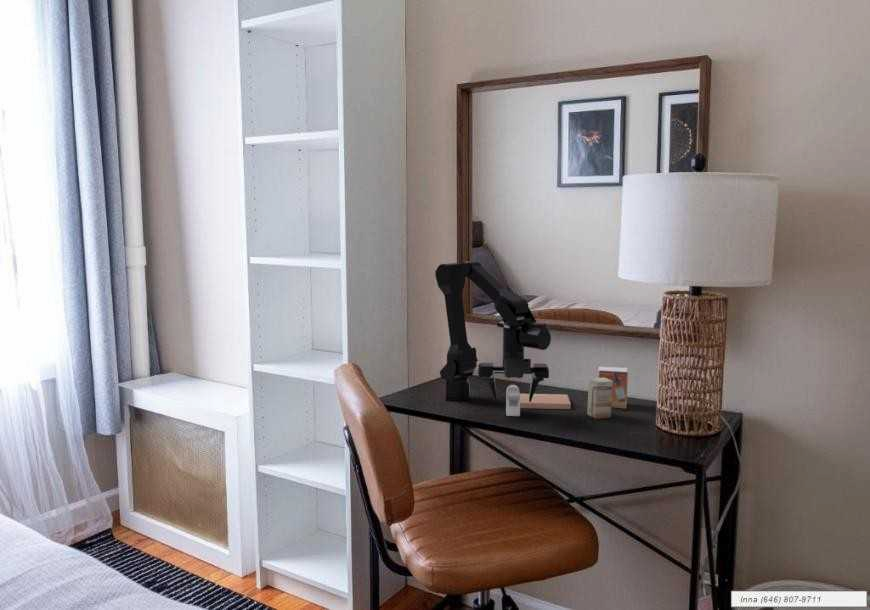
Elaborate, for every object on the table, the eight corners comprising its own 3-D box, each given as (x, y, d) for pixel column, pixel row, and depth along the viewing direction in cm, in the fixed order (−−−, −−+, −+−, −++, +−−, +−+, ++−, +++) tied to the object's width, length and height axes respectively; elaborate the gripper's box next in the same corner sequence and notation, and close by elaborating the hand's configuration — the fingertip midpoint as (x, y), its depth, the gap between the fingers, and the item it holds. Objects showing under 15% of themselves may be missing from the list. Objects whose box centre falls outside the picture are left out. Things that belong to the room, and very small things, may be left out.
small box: (597, 407, 201) (598, 370, 200) (597, 401, 207) (598, 365, 205) (626, 408, 199) (628, 371, 198) (626, 403, 205) (627, 367, 203)
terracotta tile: (512, 407, 200) (512, 402, 200) (511, 398, 210) (511, 393, 210) (570, 409, 199) (570, 403, 199) (567, 399, 209) (567, 394, 209)
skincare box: (595, 419, 190) (596, 382, 188) (586, 414, 194) (587, 378, 192) (612, 417, 191) (613, 380, 190) (603, 412, 195) (604, 376, 194)
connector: (506, 417, 192) (506, 390, 191) (506, 410, 198) (506, 384, 197) (520, 417, 192) (520, 390, 191) (519, 410, 198) (519, 384, 197)
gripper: (478, 350, 186) (477, 409, 188) (551, 351, 184) (549, 410, 186) (478, 342, 197) (478, 397, 199) (547, 343, 195) (546, 399, 197)
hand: (512, 401), depth 195 cm, fingers open, 9 cm apart
